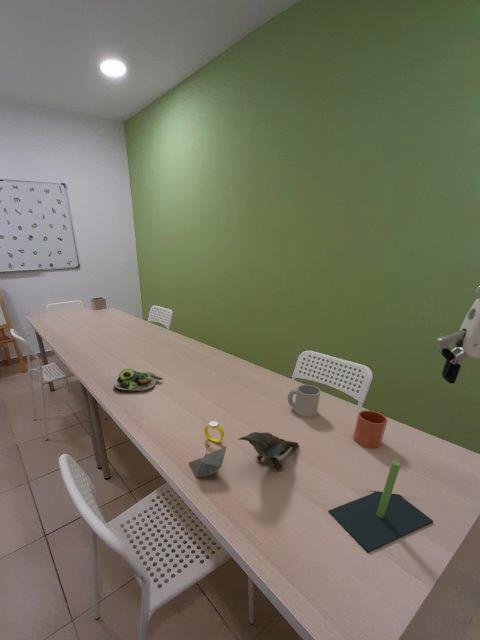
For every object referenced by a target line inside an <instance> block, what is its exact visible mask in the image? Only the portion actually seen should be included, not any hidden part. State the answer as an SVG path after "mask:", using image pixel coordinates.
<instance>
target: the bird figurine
mask: <svg viewBox="0 0 480 640" xmlns="http://www.w3.org/2000/svg"><path fill="white" fill-rule="evenodd" d="M238 440H243V441H247V442H249V444H250V445H251V446H253V449H254V450H255V451H256V453H257V454H258V455H257V457H256V460H257V461H258V462H262V459H263V458H268V459H269V460H270V461H271V463H272V464H271V465H272V466H273V468H275V469H276V471H277V472H281V471H282V470H284V467H283V466H282V464H281V462H280V461H279V459H278V458H279V457H281V456H283V455H285V454H286V453H287V452H288V450H289V449H291V448H292V449H295V448H297V447H299V446H300V445H299V443H298V442H296V441H288V440H285V439H283V438H280V437H279V436H276V435H273V434H272V433H270V432H259V431H254V432H251V433H249V434H247V435H246V436H242V437H239V438H237V441H238Z"/></svg>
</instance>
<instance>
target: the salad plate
mask: <svg viewBox="0 0 480 640" xmlns="http://www.w3.org/2000/svg"><path fill="white" fill-rule="evenodd" d="M162 380H164V378H163V377H160V376H157V375H156V374H155V373H153V372H150V371H146V372H145V371H144V372H139V371H136V370H134V369H132V368H124V369H122V370H120V371H119V374H118V378H116V381H115V383H114V384H113V387H114V389H115V390H117V391H118V392H123V393H127V392H128V393H134V392H136V393H137V392H145V391H149V390H151V389H152V388H154V387H155V385H156V383H157V382H158V381H162Z"/></svg>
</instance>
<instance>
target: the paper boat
mask: <svg viewBox="0 0 480 640" xmlns="http://www.w3.org/2000/svg"><path fill="white" fill-rule="evenodd" d="M209 447H211V444H205V451H206V452H205V454H204V456H203V457H201V458H198V459H195V460H192V461H190V462H188V465H189V466H190V469H191V471H192V472H193V475H194V477H195V478H204V477H209V476H211V475H214V474H215V473H216V472H217V471H218V470H220V469H221V468H222V467H223V463H224V459H225V455H226V451H227V447H228V445H226V446H223V447H221V448H219V449H217V450H215V451H213V452H211V453H208V450H207V449H208V448H209Z"/></svg>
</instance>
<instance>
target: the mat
mask: <svg viewBox="0 0 480 640" xmlns="http://www.w3.org/2000/svg"><path fill="white" fill-rule="evenodd" d="M382 493H383V491H379V490H378V491H374V492H372V493H370V494H367V495H365V496H362V497H360V498H357V499H355V500H352V501H349V502H346V503H344V504H342V505H341V504H340V505H339V506H337V507H333V508H331V509H329V510H328V513H329V514H330V515H331V516H332V517H333V518H334V519H335V520H336V521H337V522H338V524H339V525H340V526H341V527H342V528H343V529H344V530H345V531H346V532H347V533H348V534H349V535H350V536H351V537H352V538H353V539H354V540H355V541H356V542H357V543H358V544H359V545H360V547H362V548H363V549H364V551H365V552H366V553H367V554H368V553H370V552H372V551H375V550H377V549H379V548H381V547H383V546H385V545H387V544H390V543H392V542H394V541H396V540H398V539H400V538H402V537H405V536H407V535H408V534H411V533H413V532H415V531H418V530H419V529H422V528H424V527H426V526H428V525H429V524H432V523H434V520H433V518H431V517H429V516H427V514H425V513H424V512H423V511H421V510H420V509H419V508H417V507H416V506H415V505H413V504H412V503H411V502H409V500H407V499H406V498H405V497H403V496H402V495H400V494H397V493H393V492H392V493H391V496H390V500H389V503H388V506H387V509H386V512H385V515H384V518H379V517H378V516H377V515H376V513H377V510H378V506H379V503H380V500H381V497H382Z"/></svg>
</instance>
